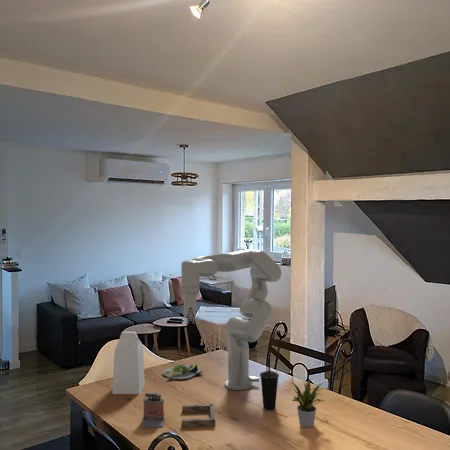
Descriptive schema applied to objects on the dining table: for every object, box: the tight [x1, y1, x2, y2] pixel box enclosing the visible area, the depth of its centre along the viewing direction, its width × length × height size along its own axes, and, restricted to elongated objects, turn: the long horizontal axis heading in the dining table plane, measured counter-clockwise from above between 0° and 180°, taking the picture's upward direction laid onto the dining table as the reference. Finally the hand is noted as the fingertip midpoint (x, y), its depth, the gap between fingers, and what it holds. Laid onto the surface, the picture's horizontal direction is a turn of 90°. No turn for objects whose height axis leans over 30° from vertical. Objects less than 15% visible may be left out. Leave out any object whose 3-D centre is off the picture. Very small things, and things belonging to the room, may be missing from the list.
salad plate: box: [162, 363, 203, 380], centre depth 222 cm, size 19×18×5 cm
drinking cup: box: [259, 358, 280, 411], centre depth 183 cm, size 8×8×20 cm
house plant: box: [292, 379, 326, 429], centre depth 168 cm, size 14×14×16 cm
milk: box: [111, 331, 146, 395], centre depth 204 cm, size 12×12×26 cm
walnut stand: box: [181, 403, 216, 428], centre depth 174 cm, size 12×14×2 cm
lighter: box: [142, 391, 165, 421], centre depth 173 cm, size 8×3×10 cm, turn 82°
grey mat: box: [140, 411, 165, 429], centre depth 173 cm, size 8×12×1 cm, turn 5°
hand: (190, 330), depth 190 cm, fingers open, 9 cm apart
